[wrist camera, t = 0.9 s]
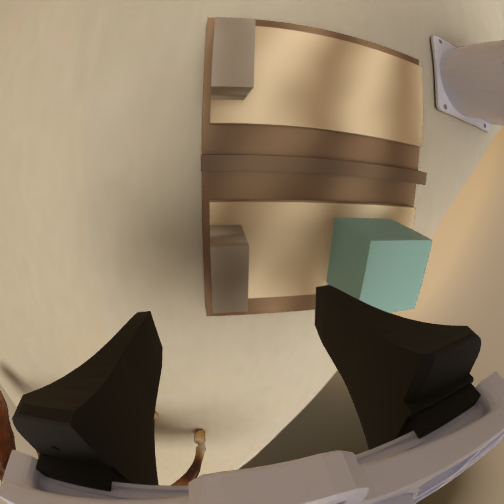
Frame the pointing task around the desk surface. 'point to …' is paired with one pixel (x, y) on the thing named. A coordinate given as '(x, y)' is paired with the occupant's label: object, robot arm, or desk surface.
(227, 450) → the desk surface
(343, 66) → the empty strip
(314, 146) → the lane board
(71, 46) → the desk surface
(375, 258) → the teal cube
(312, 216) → the strip
